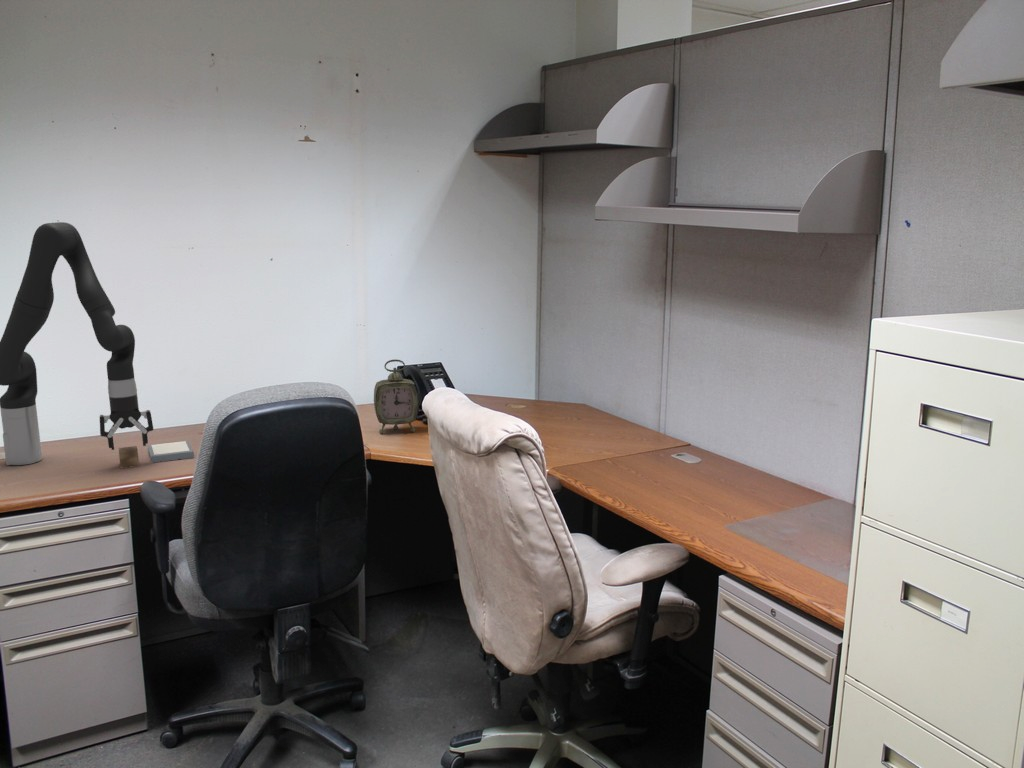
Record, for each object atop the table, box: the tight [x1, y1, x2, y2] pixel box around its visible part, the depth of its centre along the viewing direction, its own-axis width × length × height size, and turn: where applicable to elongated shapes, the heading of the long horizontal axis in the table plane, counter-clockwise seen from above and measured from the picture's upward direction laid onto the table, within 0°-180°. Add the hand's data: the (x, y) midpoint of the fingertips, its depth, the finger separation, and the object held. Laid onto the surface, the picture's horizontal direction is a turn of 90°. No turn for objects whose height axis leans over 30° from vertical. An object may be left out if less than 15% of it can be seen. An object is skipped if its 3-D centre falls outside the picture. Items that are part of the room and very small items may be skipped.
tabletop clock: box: [373, 359, 419, 435], centre depth 286 cm, size 14×9×25 cm, turn 104°
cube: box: [118, 445, 140, 468], centre depth 249 cm, size 5×5×5 cm
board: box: [147, 440, 195, 463], centre depth 260 cm, size 12×14×2 cm
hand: (128, 447), depth 248 cm, fingers open, 8 cm apart
